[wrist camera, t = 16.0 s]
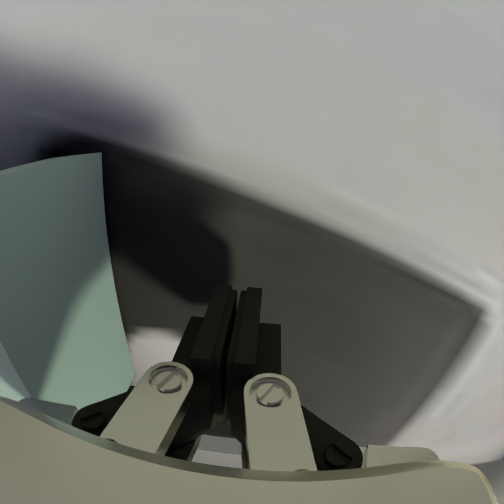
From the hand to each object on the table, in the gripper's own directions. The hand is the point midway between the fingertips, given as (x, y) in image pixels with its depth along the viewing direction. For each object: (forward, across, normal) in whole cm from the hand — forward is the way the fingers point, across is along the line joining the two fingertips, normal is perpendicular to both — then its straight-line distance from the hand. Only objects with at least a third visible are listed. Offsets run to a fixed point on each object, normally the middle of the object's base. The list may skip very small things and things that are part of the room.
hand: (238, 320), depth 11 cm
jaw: (+2, +8, 0) cm, 8 cm away
